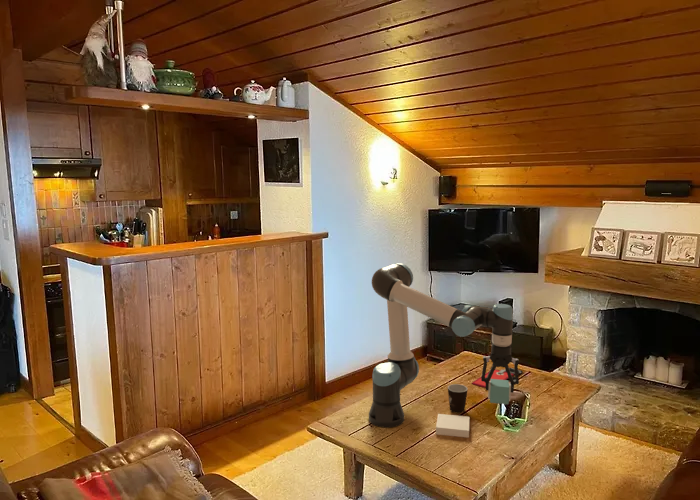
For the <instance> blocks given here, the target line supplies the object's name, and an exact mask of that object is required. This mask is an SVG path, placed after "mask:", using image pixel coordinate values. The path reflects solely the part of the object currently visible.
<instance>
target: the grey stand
mask: <svg viewBox="0 0 700 500" xmlns="http://www.w3.org/2000/svg"><path fill="white" fill-rule="evenodd" d="M435 435H437V436H438V435H439V436H450V437H459V438H468V439H469V438H470V416H467V415H466V416H465V415H456V414H446V413H445V414H444V413H437V419H436V424H435Z"/></svg>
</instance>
